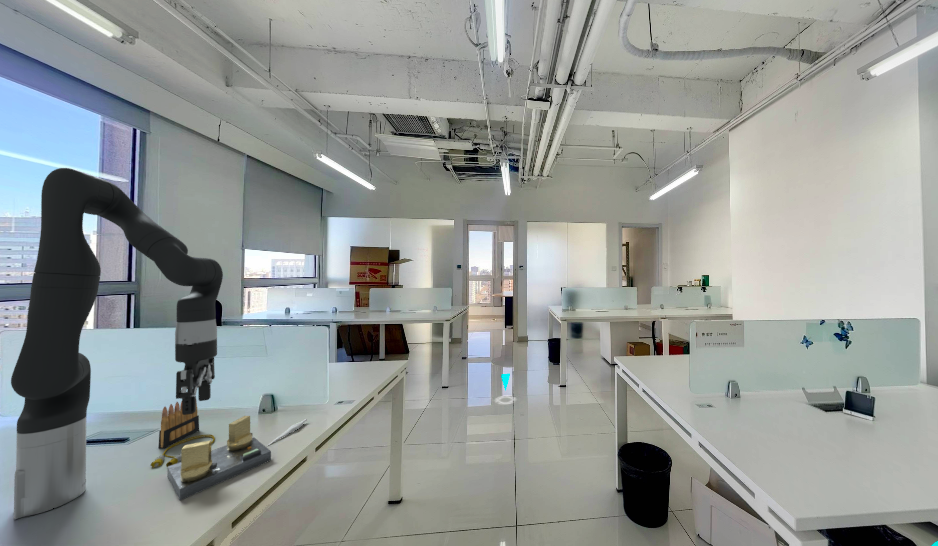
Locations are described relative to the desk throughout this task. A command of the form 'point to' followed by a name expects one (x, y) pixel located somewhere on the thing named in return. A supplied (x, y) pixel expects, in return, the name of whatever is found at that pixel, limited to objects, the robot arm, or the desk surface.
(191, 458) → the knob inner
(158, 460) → the extension cord
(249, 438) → the knob outer
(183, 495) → the base
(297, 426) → the stylus pen
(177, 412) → the ammunition clip
